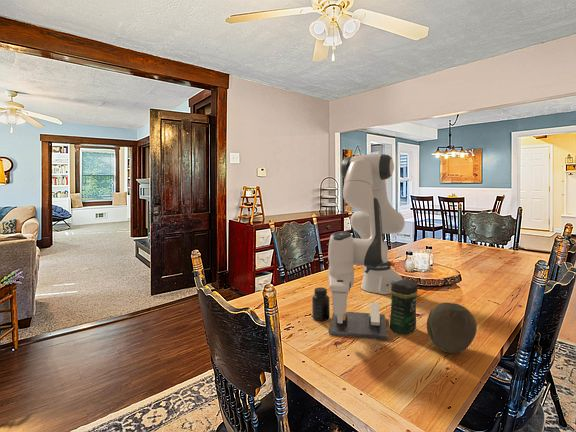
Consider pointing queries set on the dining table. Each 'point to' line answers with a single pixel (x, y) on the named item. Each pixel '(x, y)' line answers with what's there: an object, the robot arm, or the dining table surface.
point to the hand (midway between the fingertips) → (341, 316)
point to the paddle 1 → (345, 313)
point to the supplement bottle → (320, 305)
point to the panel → (359, 326)
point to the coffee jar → (403, 306)
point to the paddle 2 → (375, 314)
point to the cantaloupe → (451, 327)
